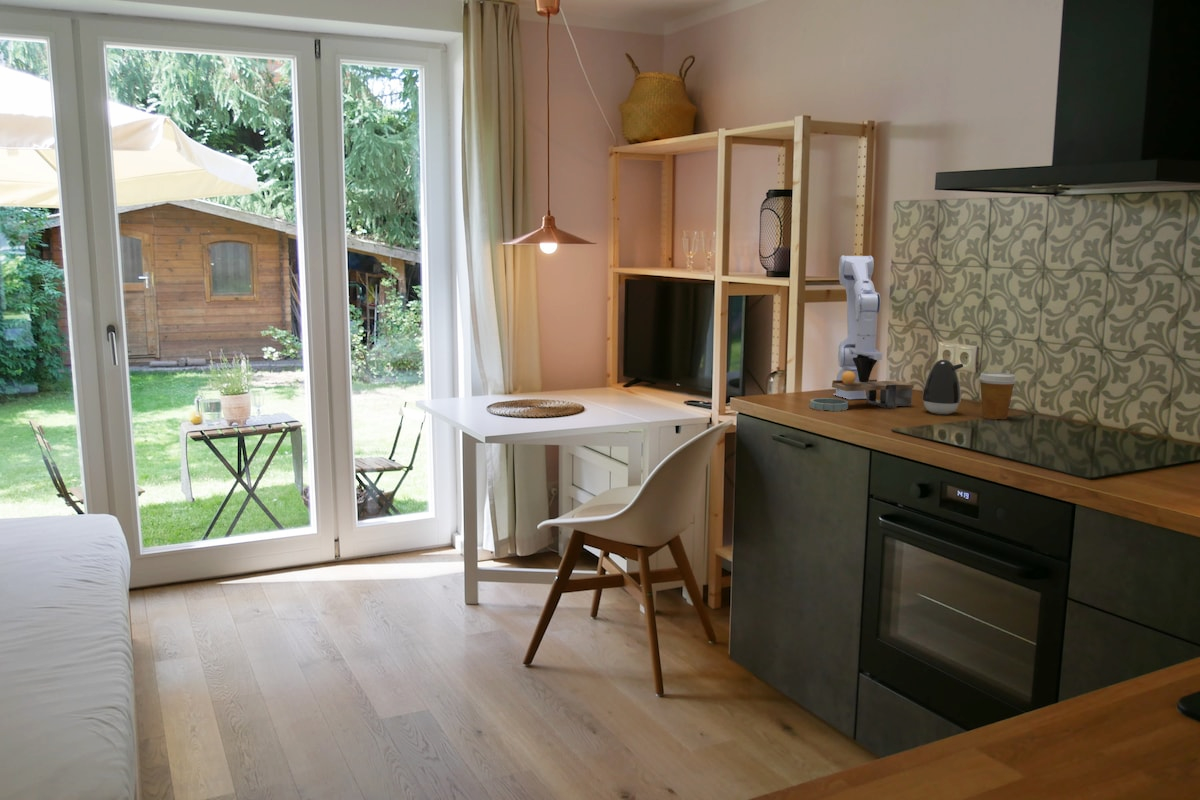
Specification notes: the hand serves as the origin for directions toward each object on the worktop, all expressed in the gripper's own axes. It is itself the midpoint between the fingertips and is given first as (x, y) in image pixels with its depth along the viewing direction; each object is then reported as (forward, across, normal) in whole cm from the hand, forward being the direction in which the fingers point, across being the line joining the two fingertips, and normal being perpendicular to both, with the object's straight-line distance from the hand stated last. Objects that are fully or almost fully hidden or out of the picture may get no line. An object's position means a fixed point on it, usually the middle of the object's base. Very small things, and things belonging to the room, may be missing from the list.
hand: (863, 381), depth 285 cm
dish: (+7, 0, +11) cm, 13 cm away
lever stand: (+7, 0, -9) cm, 12 cm away
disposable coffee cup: (+8, -25, -26) cm, 37 cm away
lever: (+6, 0, -3) cm, 7 cm away
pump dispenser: (+8, -15, -16) cm, 23 cm away
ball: (-1, 0, +5) cm, 5 cm away
